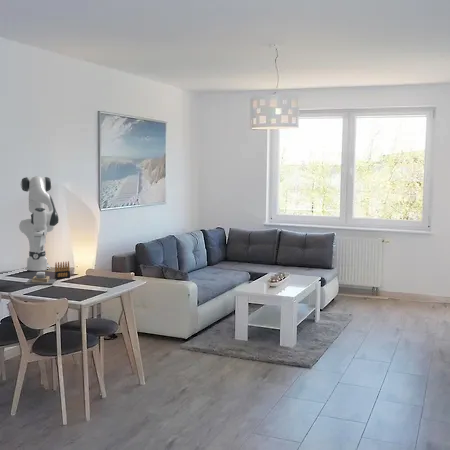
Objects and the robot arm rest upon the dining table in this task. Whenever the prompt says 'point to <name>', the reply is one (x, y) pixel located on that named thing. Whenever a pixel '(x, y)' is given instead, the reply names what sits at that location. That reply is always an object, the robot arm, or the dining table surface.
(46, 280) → the end holder
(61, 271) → the ammunition clip
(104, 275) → the dining table surface
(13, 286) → the dining table surface
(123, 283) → the dining table surface
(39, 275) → the connector
